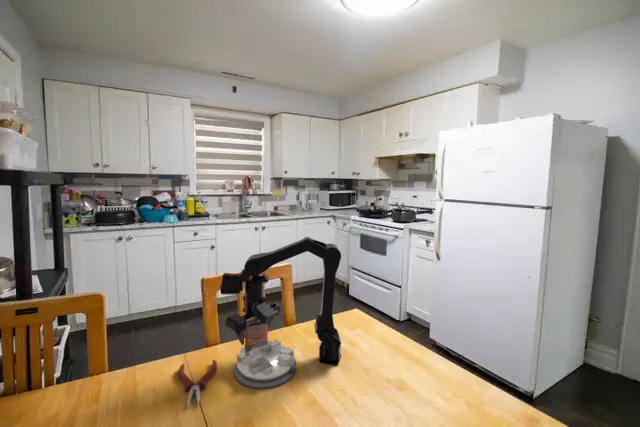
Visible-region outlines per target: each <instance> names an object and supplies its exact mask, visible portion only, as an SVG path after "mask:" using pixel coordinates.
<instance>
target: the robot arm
mask: <svg viewBox="0 0 640 427" xmlns="http://www.w3.org/2000/svg"><path fill="white" fill-rule="evenodd" d="M306 252H308V253H311V254H312V255H314V256H316V257H318V258H320V259H322V266H323V280H322V292H321V306H320V311H319V314H318V313H316V314H315V322H314V324H313V325H314V332H315V335H317V338H318V340H319V341H320V344H319V346H318V348H319V350H318V353H319V354H318V357H319V361H318V362H319V364H326V365H332V366H339V363H340V361H341V358H342V354H341V348H342V347H341V344H342V342H341V337H340V335H339V331H338V329H337V328H336V327H335V324H334V316H333V313H334V312H333V309H334V301H335V300H334V299H335V285H336V275H337V272H338V269H339V267H340V263H341V259H342V253H341V250H339V248H338V246H337V245H336V244H334V243H325V242H323V241H319V240H316V239H313V238H312V237H309V236H305V237H304V238H302V239H300V240H297V241H295V242H292V243H289V244H288V245H284V246H282V247H280V248H278V249H275V250H273V251H272V250H271V251H269V252H261V253H256V254H251V255H250V256H249V257H248V258H247V260H246V261H245V264H244V266H243V267H244V268H243V269H241V271H240V273H229V272H224V273H223V274H222V275H221V276H222V279H221V282H220V283H221V285H220V286H219V290H220V294H221V295H226V296H227V295H231V296H232V295H233V296H234V295H240V294H241V292H244V291H245V292H244V296H242V301H245V302H244V306H245V307H244V308H242V313H244V314H243V315H241V314H238V313H234V314H231V315H229V316H227V317H226V318H225V322H224V324H225V326H226V327H227V328H229V329H231V330H232V331H234V333H235V335H236V337H237V339H238V341H239V344H241V346H245V330H246V329H247V328H246V325H247V324H248V323H247V321H248V320H250V319H252V318H255V317H257V318H258V319H259V320H260V321H261V323H262V324H267V323H268V325H267V331H268V329H269V326H270V324H271V322H274V320H275V317H276V316H278V315H279V313H280V312H281V311H280V310H281V308H280V307H281V306H280V304H279V303H278V302H275V301H272V300H267V299H266V298H267V297H266V296H264V283H269V280H270V276H268V275H267V274H266V273H265V272H266V271H267V270H268V269H270V268H271V267H273V266H274V265H276V264H279V263H282V262H284V261H287V260H289V259H291V258H293V257H296V256H299V255H301V254H304V253H306Z"/></svg>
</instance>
